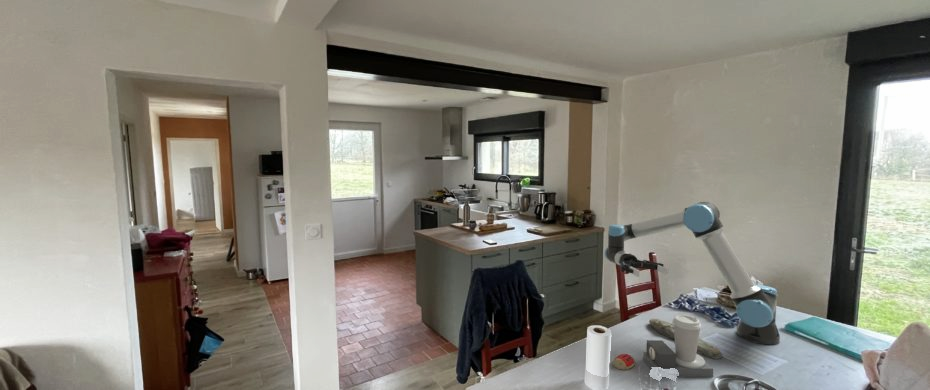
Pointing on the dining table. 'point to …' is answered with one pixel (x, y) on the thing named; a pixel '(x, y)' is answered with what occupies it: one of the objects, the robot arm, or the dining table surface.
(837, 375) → the dining table surface
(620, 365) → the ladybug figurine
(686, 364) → the kitchen scale
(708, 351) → the elongated rock
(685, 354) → the coffee cup
